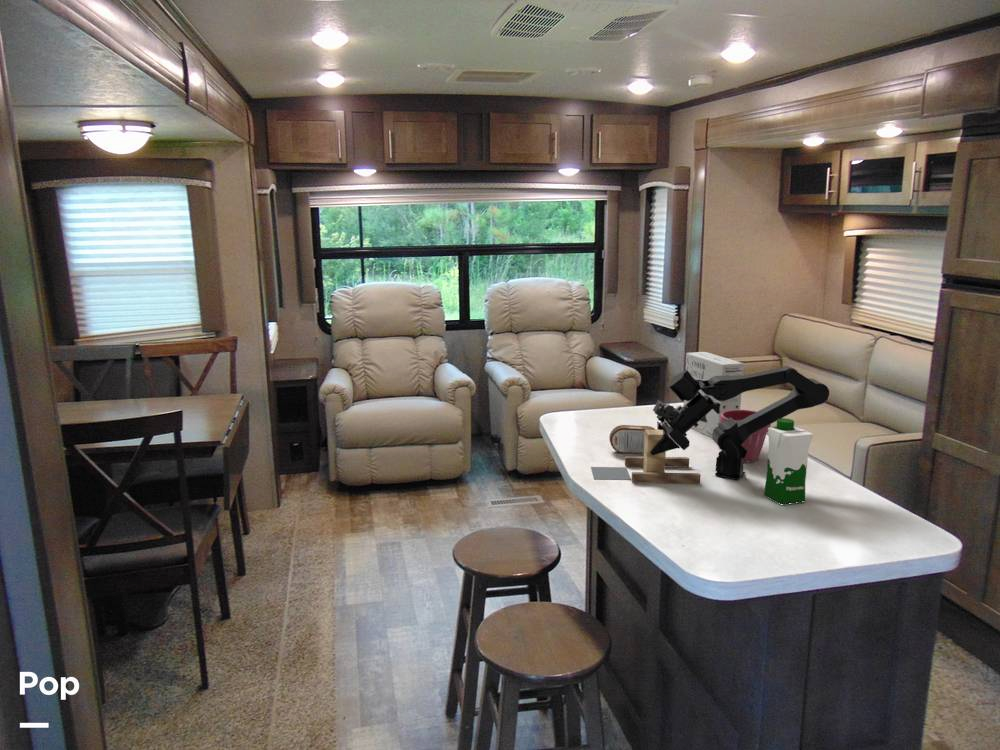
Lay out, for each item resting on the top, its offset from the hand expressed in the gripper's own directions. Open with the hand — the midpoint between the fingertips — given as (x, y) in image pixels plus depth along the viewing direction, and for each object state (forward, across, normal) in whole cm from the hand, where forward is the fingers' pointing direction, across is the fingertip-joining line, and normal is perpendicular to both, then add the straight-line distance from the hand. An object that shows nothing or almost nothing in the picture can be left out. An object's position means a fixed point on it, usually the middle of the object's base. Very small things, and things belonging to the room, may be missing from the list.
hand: (649, 450), depth 203 cm
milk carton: (-17, +18, +27) cm, 36 cm away
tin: (+6, -19, +4) cm, 20 cm away
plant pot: (-17, -16, +26) cm, 35 cm away
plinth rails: (+2, 0, +7) cm, 7 cm away
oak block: (+4, 0, +6) cm, 7 cm away
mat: (+12, 0, -3) cm, 12 cm away
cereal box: (-14, -43, +24) cm, 52 cm away
